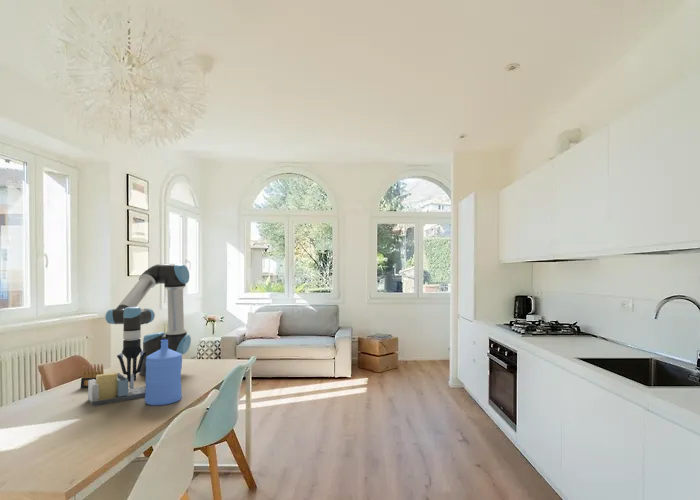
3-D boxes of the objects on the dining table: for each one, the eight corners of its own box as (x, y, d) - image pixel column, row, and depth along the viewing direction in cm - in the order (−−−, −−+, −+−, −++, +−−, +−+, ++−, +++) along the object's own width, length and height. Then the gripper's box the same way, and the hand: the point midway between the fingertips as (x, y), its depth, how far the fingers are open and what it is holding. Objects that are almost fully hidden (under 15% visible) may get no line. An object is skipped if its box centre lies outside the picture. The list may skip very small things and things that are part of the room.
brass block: (115, 393, 198) (115, 372, 199) (116, 395, 195) (117, 373, 196) (95, 396, 193) (96, 374, 194) (97, 398, 190) (97, 376, 191)
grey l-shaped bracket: (147, 389, 211) (148, 371, 212) (154, 395, 202) (154, 375, 202) (88, 400, 195) (88, 380, 195) (92, 406, 185) (92, 385, 186)
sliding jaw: (122, 389, 204) (123, 372, 204) (128, 394, 195) (128, 376, 195) (113, 390, 201) (113, 373, 202) (118, 396, 192) (118, 378, 193)
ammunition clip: (104, 386, 218) (104, 363, 219) (102, 387, 216) (103, 364, 217) (82, 387, 217) (82, 364, 217) (80, 388, 215) (81, 364, 215)
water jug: (168, 407, 184) (169, 343, 185) (137, 405, 187) (138, 342, 189) (188, 396, 199) (189, 337, 201) (159, 394, 203) (160, 337, 204)
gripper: (144, 336, 209) (143, 383, 208) (115, 339, 201) (114, 389, 200) (148, 338, 203) (147, 387, 202) (118, 341, 195) (118, 392, 194)
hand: (131, 388), depth 201 cm, fingers closed
